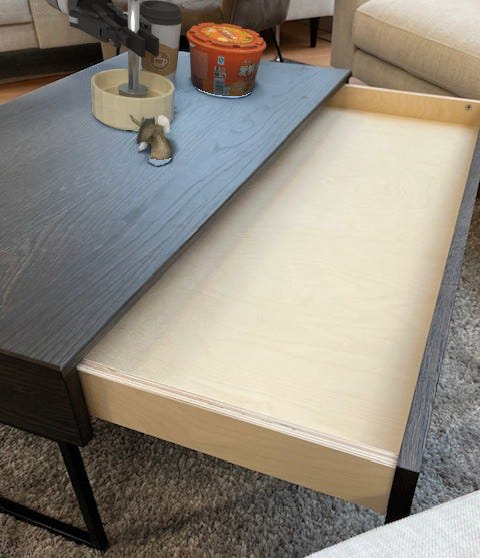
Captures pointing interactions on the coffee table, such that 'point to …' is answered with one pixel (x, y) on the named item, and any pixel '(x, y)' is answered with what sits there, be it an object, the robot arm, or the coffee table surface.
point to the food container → (224, 58)
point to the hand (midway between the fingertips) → (150, 48)
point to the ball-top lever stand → (133, 59)
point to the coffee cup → (162, 37)
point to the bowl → (130, 99)
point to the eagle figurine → (154, 136)
